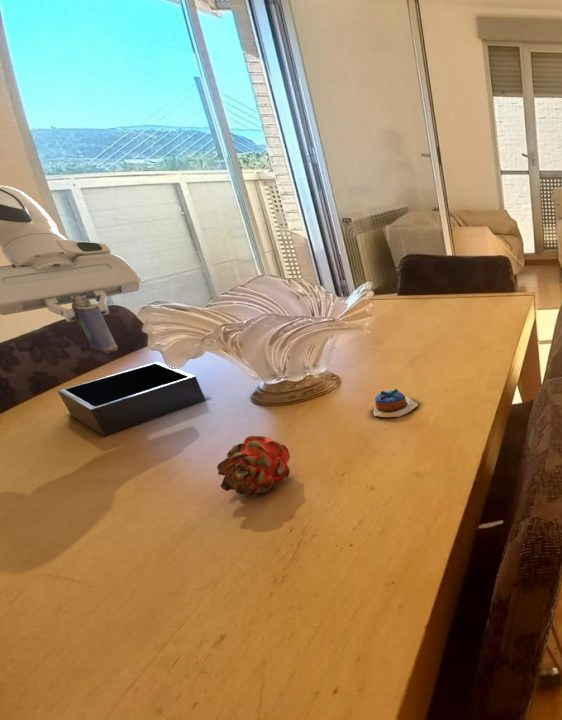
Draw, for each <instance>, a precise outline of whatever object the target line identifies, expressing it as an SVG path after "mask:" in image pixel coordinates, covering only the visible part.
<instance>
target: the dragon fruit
mask: <svg viewBox="0 0 562 720" xmlns="http://www.w3.org/2000/svg"><path fill="white" fill-rule="evenodd" d="M290 458H291V456H290V451H289V449H288V447H287V446H286V445H285V444H283V443H281V442H279V441H277V440H274V439H273V438H270V437H269V436H264V435H249V436H247V437H245V439H244V441H243V443H238V444H235V445H233V446H232V447H231V448H230V450H228V452H227V453H226V457H225V459H223V460H222V461H220V462H219V463H218V464H217V466H216V469H217V475H218V476H224V477H223V479H222V483H221V484H220V488H221V489H222V490H223V491H225V492H228V491H235V493H236V494H238V495H246V494H248V493H253V494H259V493H266V492H268V491H269V490H271V489H272V487H273V484H274V483H276V482H280V481H282V480H283V479H284V478H285V479H286V478H288V477H289V475H290V467H289V466H288V463H289V461H290Z"/></svg>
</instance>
